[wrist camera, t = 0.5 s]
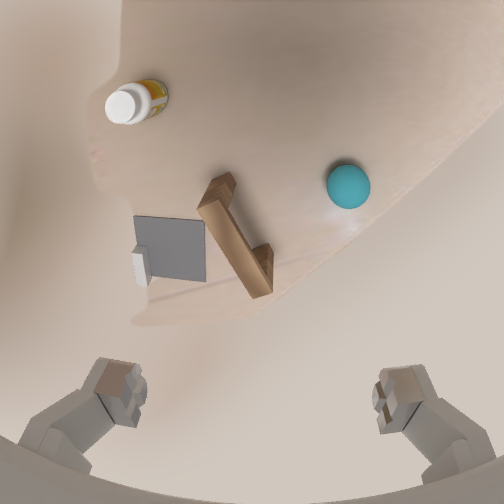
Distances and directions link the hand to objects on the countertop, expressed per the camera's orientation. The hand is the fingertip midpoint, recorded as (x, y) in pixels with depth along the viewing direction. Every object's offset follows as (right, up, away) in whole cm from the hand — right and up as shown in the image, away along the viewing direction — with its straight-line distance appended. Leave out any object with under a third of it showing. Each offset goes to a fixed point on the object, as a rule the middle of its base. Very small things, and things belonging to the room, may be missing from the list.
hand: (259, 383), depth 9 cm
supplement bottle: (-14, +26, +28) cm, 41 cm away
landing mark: (-14, +5, +42) cm, 44 cm away
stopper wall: (-19, +2, +44) cm, 48 cm away
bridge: (-1, +9, +38) cm, 39 cm away
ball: (+13, +13, +30) cm, 35 cm away
